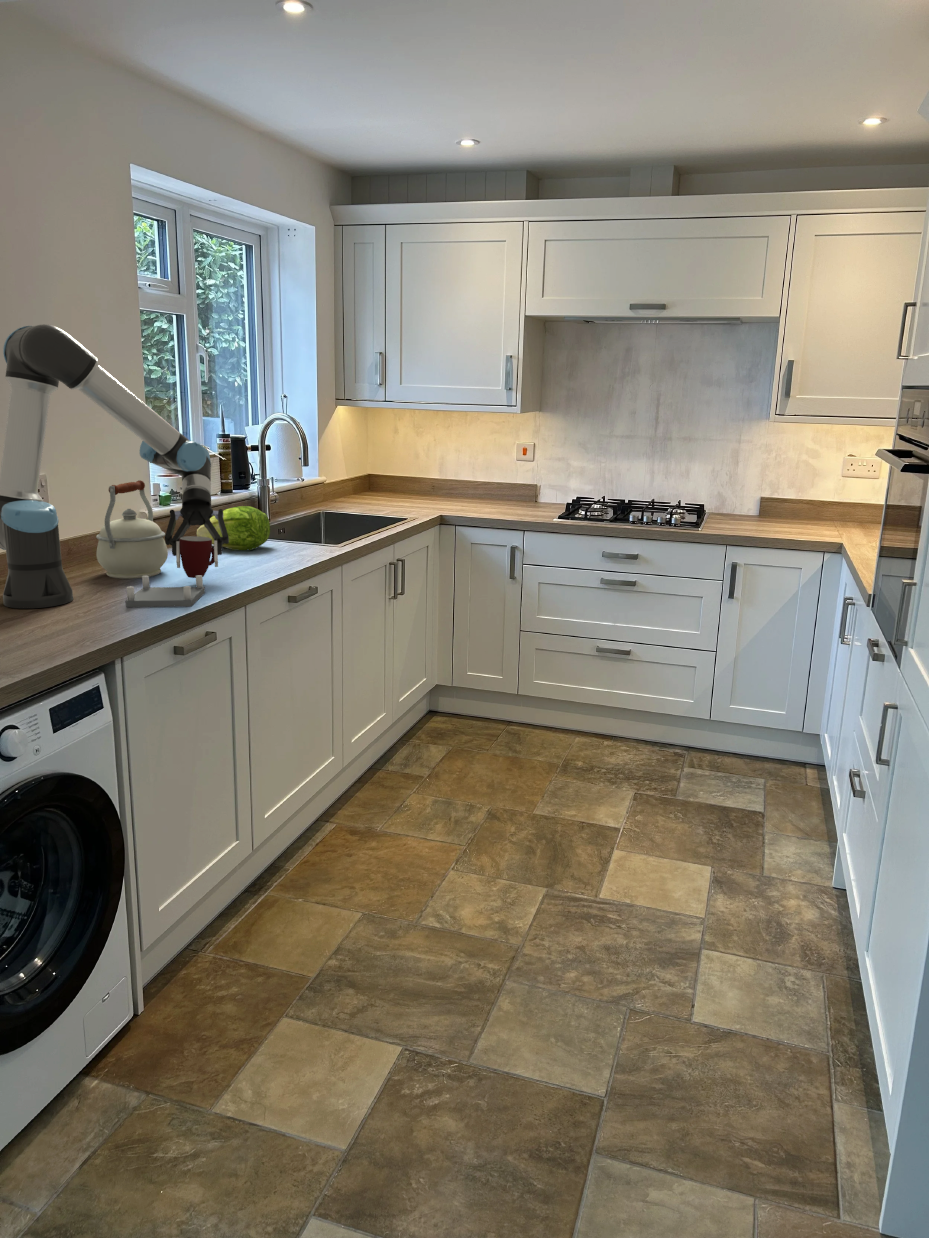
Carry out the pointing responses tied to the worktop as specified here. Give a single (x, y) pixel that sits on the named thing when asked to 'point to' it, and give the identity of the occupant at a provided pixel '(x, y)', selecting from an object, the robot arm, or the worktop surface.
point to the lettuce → (241, 528)
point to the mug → (196, 555)
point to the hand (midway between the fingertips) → (197, 564)
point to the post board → (165, 595)
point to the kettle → (131, 540)
